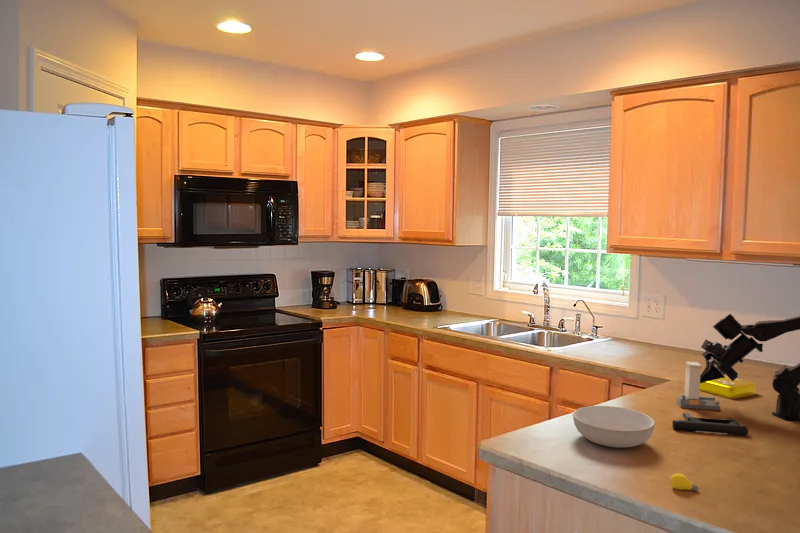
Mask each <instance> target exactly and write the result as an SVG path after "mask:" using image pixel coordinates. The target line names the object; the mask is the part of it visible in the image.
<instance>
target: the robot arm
mask: <svg viewBox="0 0 800 533" xmlns="http://www.w3.org/2000/svg"><path fill="white" fill-rule="evenodd" d="M712 328H713V329H714V330H715V331H716V332H718V334H720V335H721V336H722V338H724V339H725V340H730V341H732V342H731V343H729V344H728V345H727V344H724V345H722V343H719V342H718V341H715V342H712V341H710V340H708V339H705V340H704V342H703V343H702V345H701V346H700V348H701V349H702V350H704V352H703V353H701V356H702V357H703V359H705V360H704V361H705V368H704V369H703V370H702V371H701V374H700V383H703V382H707V381H711V380H715V379H720V378H725V376H728V377H729V379H730V380H732V381H734V380H735V379H736V378H738V376H739V375H738V372H737V371H736V370H735V368H733V367H734V366H735V365H736V364H738V363H739V364H742V363H743V362H744V358H745V357H747V356H748V355H749V354H750V353H752V352H753V351H754V350H756V351H757V352H758V353H762V352H763V351H764V350H763V346H764V343H759V342H768V341H770V340H772V339H775V338H778V337H779V336H782V335H784V334H786V333H789V332H791V333H792V332H795V331H798V330H799V331H800V315H799V316H795V317H790V318H786V319H778V320H777V319H775V320H759V321H757V322H755V323H754V324H744V325H743V324H741V323H740V322H739V321H738V320H737V319H736V318H735V317H734V315H733V314H731V313H729V314H727V315H726V316H725V317H723V318H721V319H719V320H718V321H717V322H716V323H715V324H714V325H713V326H712ZM749 336H750V337H749ZM735 338H736V339H735ZM758 341H759V342H758ZM724 375H725V376H724ZM771 381H772V382H771V383H772V384H771V385H772V388H773V390H774V391H775V392H776V393H778V394H777V399H776V408H775V411H771V415H774V416H775V417H778V418H779V419H783V420H784V421H800V388H799V387H798V386H799V385H800V362H799V363H797V364H795V365H793V366H790V367H789V366H788V365H787V364H784V365H783V366H782V367H781V368H780V369H779V370H775V371H774V374H773V376H772V380H771Z"/></svg>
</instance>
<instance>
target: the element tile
mask: <svg viewBox="0 0 800 533" xmlns="http://www.w3.org/2000/svg"><path fill="white" fill-rule="evenodd" d="M724 376H725V378H720V379H715V380H711V381H707V382H703V383H700V390H699V391H701V392H705V393H708V394H711V395H715V396H720V397H723V398H726V399H727V398H728V399H739V398H740V399H741V398H744V397H745V398H746V397H750V396H754V395H756V383H755V382H754V381H748V380H745V379H741V378H738V377H737V378H736V379H735V380H734V381H732V380H730V379H729V377H728V376H727V375H726V374H725V375H724Z"/></svg>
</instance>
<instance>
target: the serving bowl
mask: <svg viewBox="0 0 800 533" xmlns="http://www.w3.org/2000/svg"><path fill="white" fill-rule="evenodd" d="M572 416H573V423H574V426H575V428H576V430H577V431H578V432H579V434H580V435H581V436H583V437H584V438H585V439H587V440H589V441H591V442H592V443H595V444H598V445H602V446H605V447H608V448H609V447H610V448H632V447H636V446H639V445H642V444H644V443H646V442H647V441H648V440H649V439H650V438H651V437H652V436H653V435H652V434H653V433H654V430H655V425H656V422H655V420H654V419H653V418H652V417H651V416H649V415H647V414H645V413H642V412H640V411H637V410H633V409H630V408H625V407H621V406H620V407H619V406H613V405H611V406H610V405H589V406H583V407H582V406H581V407H579V408H578V409H575V410H574V411H573V413H572Z"/></svg>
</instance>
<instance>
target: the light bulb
mask: <svg viewBox="0 0 800 533" xmlns="http://www.w3.org/2000/svg"><path fill="white" fill-rule="evenodd" d="M670 485H672V487H673V488H674V489H675V490H679V491H685V490H686V491H687V490H688V491H692V492H698V491H699V490H700V488H699V486H698V485H697V484H694V483H693V482H692V481H691V480H689V479H688V478H687V477H686V476H685V475H684V474H682V473H674V474H672V475H671V477H670Z"/></svg>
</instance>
